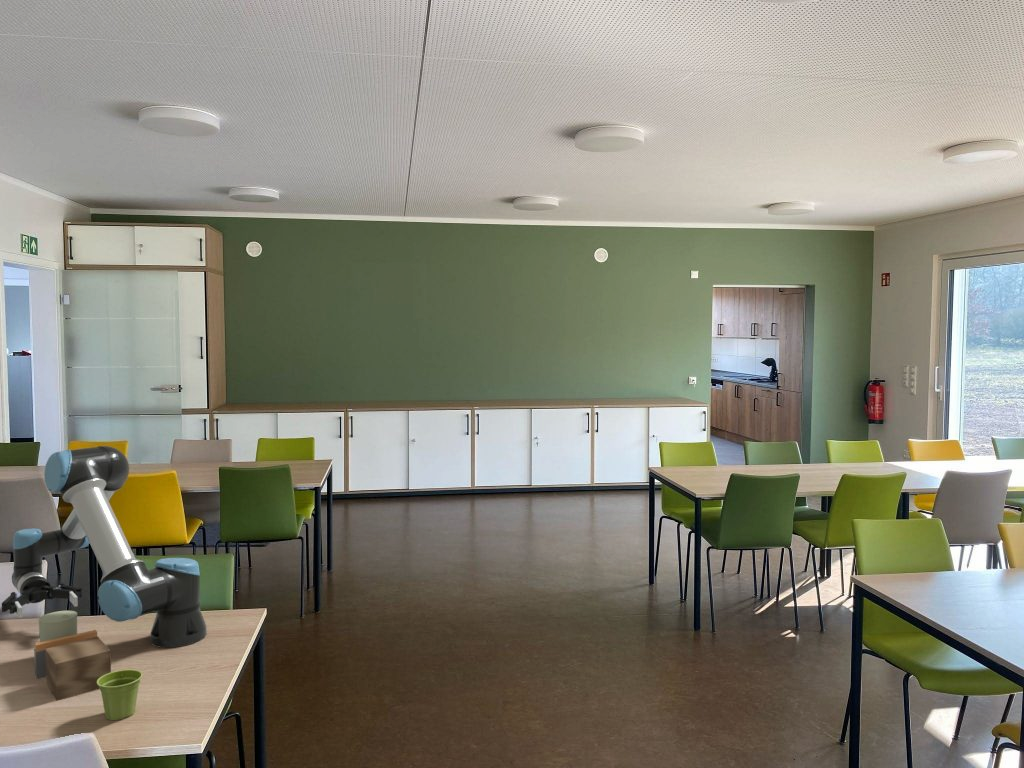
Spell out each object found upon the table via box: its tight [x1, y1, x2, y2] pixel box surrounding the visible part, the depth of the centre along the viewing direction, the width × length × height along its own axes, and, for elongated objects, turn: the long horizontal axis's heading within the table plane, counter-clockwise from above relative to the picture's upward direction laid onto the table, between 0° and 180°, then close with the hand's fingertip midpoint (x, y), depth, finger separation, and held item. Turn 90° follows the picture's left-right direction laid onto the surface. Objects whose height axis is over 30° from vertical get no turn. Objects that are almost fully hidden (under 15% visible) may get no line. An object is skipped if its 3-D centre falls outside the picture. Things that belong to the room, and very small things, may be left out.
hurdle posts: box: [33, 635, 99, 679], centre depth 198 cm, size 14×2×7 cm, turn 132°
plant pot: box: [97, 669, 143, 721], centre depth 174 cm, size 9×9×9 cm
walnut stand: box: [45, 636, 112, 701], centre depth 189 cm, size 12×12×9 cm
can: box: [38, 610, 78, 642], centre depth 205 cm, size 9×9×12 cm
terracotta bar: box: [34, 629, 98, 651], centre depth 198 cm, size 14×2×2 cm, turn 132°
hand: (49, 607), depth 212 cm, fingers open, 13 cm apart
